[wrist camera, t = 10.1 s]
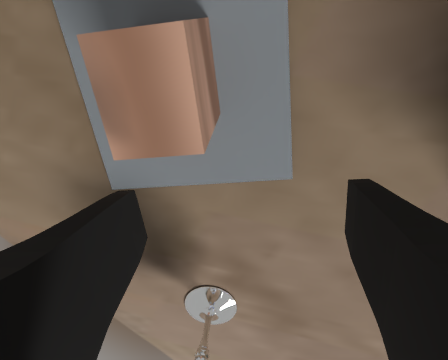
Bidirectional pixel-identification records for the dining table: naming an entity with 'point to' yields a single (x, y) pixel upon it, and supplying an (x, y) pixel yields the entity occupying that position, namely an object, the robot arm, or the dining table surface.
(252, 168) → the mat
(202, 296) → the wineglass
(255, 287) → the dining table surface
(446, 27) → the dining table surface
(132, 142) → the block
